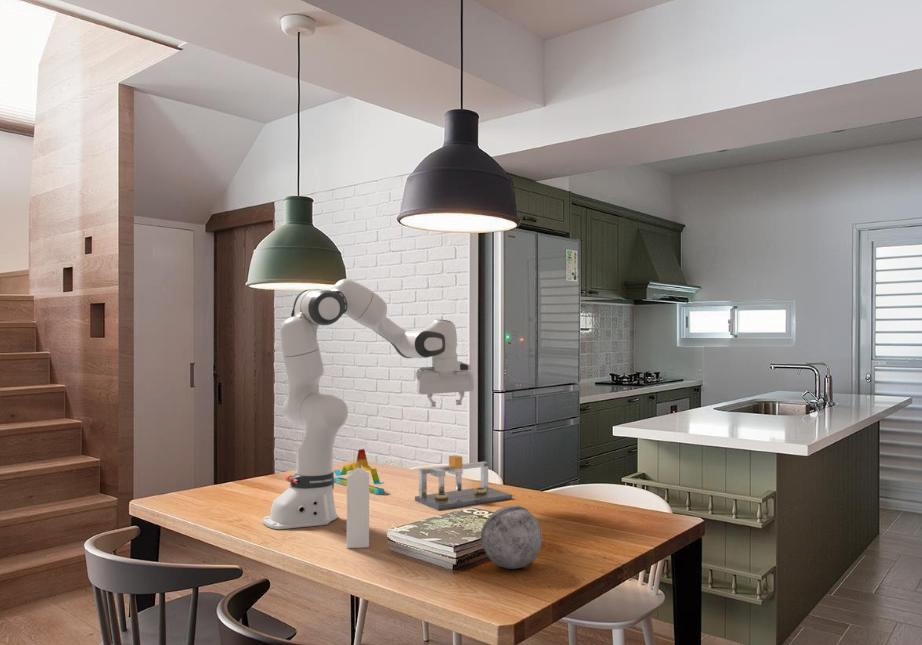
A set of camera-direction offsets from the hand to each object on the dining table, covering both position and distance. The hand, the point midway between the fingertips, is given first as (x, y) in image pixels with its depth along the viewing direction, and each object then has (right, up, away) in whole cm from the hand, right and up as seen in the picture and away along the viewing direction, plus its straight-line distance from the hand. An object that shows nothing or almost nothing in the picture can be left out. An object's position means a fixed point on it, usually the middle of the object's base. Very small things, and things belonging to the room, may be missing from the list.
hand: (446, 405), depth 240 cm
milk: (-23, -32, -52) cm, 65 cm away
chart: (-34, -34, +21) cm, 53 cm away
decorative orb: (+18, -31, -71) cm, 80 cm away
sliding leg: (+4, -29, +1) cm, 30 cm away
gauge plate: (+6, -33, +1) cm, 34 cm away
